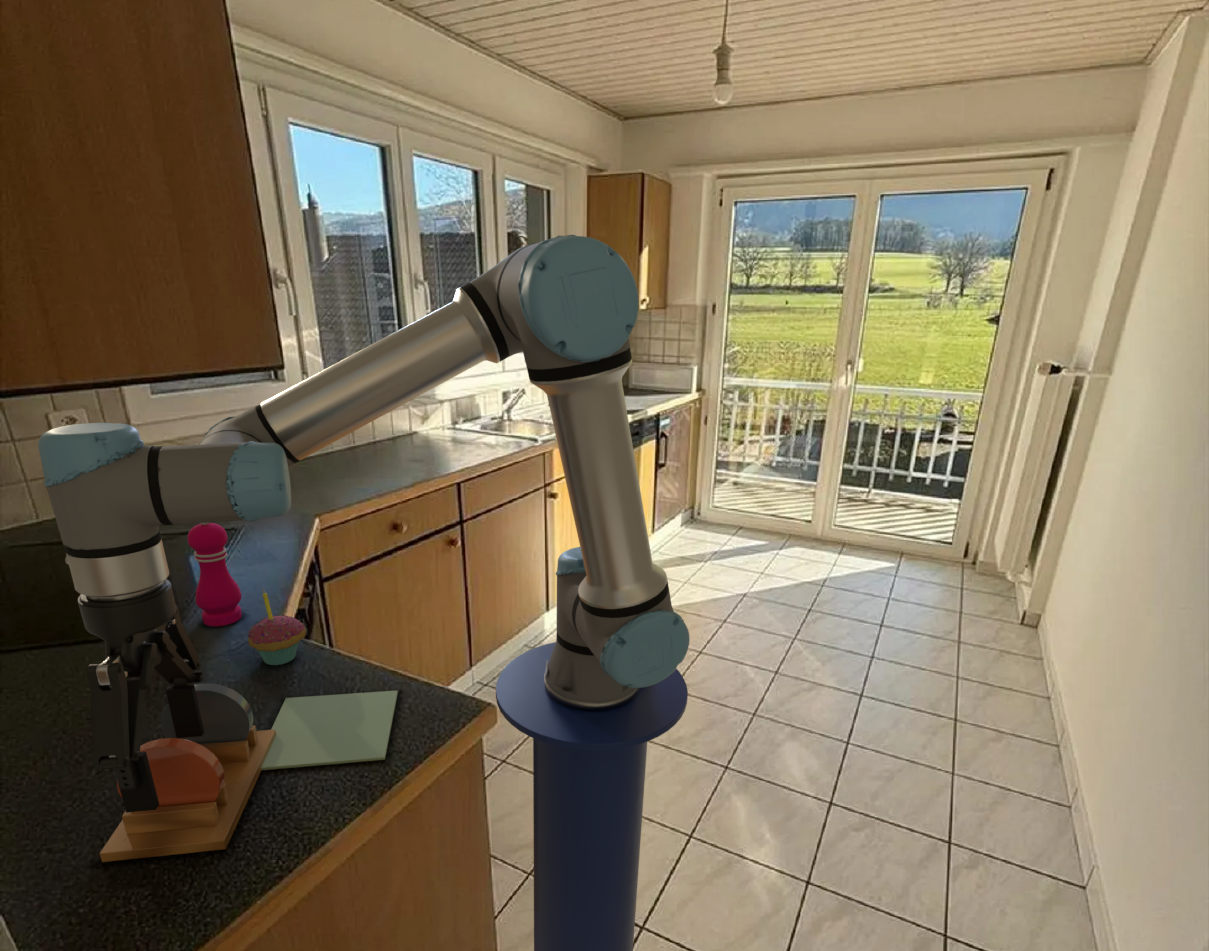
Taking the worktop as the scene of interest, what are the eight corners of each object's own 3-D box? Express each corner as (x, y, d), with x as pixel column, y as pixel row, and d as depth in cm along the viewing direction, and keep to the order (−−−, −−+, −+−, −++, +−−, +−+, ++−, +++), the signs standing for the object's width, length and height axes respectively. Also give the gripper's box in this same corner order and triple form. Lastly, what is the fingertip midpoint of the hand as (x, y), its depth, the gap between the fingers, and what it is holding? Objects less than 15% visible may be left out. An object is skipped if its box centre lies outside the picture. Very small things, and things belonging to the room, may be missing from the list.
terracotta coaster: (230, 807, 76) (216, 734, 72) (226, 817, 74) (211, 743, 71) (133, 815, 74) (114, 741, 70) (127, 826, 72) (107, 750, 69)
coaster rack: (276, 736, 90) (272, 713, 88) (226, 849, 71) (220, 822, 70) (180, 744, 88) (174, 720, 86) (101, 862, 69) (93, 834, 68)
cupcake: (240, 661, 108) (228, 594, 103) (288, 640, 114) (278, 577, 110) (272, 677, 104) (261, 608, 99) (319, 654, 110) (311, 589, 106)
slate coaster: (259, 746, 86) (246, 680, 82) (255, 754, 84) (242, 687, 81) (175, 754, 84) (158, 686, 80) (169, 762, 82) (152, 693, 79)
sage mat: (398, 692, 101) (397, 690, 101) (385, 759, 86) (384, 757, 86) (286, 700, 98) (285, 697, 98) (253, 771, 83) (252, 768, 83)
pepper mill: (215, 631, 117) (194, 524, 110) (191, 621, 120) (170, 516, 113) (253, 616, 122) (236, 514, 115) (229, 607, 126) (211, 506, 119)
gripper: (138, 544, 74) (176, 709, 82) (-1, 647, 52) (67, 858, 60) (211, 543, 76) (241, 704, 83) (104, 642, 54) (158, 848, 61)
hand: (168, 769), depth 72 cm, fingers open, 11 cm apart
